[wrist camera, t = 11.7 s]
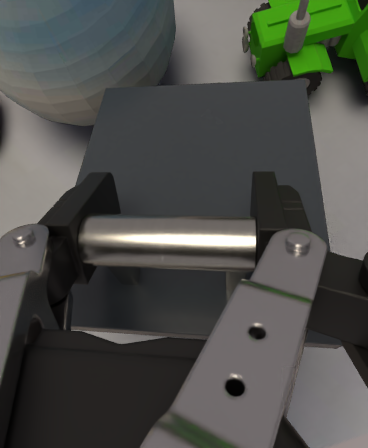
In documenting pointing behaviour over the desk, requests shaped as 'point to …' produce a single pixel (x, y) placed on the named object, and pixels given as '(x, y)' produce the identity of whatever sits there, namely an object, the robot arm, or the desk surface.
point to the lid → (188, 201)
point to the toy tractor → (306, 38)
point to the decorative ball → (81, 52)
